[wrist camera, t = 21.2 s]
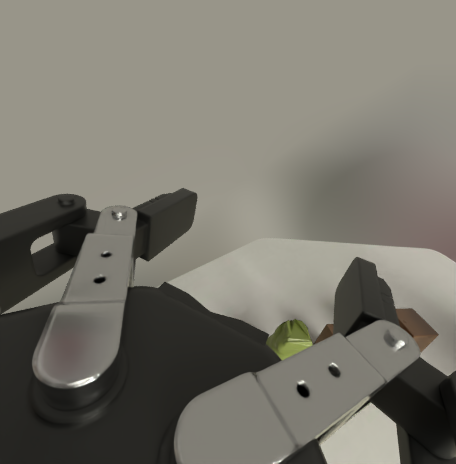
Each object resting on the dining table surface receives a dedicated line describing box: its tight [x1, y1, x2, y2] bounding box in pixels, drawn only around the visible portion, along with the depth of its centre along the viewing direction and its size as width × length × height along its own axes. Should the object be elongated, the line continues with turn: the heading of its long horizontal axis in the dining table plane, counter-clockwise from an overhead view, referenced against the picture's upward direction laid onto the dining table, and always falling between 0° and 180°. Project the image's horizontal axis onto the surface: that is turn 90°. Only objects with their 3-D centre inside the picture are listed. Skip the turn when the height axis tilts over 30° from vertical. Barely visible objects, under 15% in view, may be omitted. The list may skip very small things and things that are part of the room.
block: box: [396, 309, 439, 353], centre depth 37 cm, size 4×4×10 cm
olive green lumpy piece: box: [266, 319, 313, 360], centre depth 32 cm, size 6×5×10 cm
